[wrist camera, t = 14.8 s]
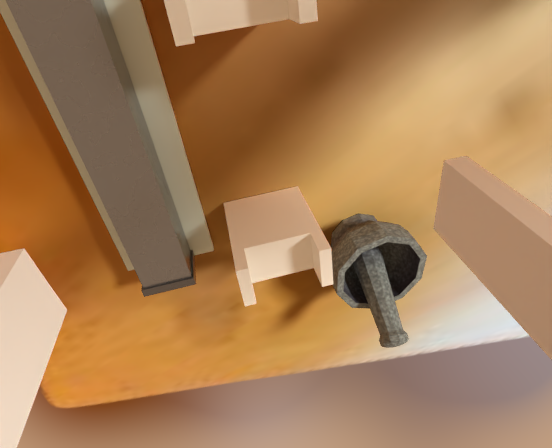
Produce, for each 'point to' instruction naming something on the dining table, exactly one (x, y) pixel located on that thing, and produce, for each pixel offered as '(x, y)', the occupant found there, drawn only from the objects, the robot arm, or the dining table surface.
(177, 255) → the rail
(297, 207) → the beige u-shaped block
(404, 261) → the mortar and pestle
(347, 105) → the dining table surface
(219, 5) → the beige bridge block
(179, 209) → the mat
